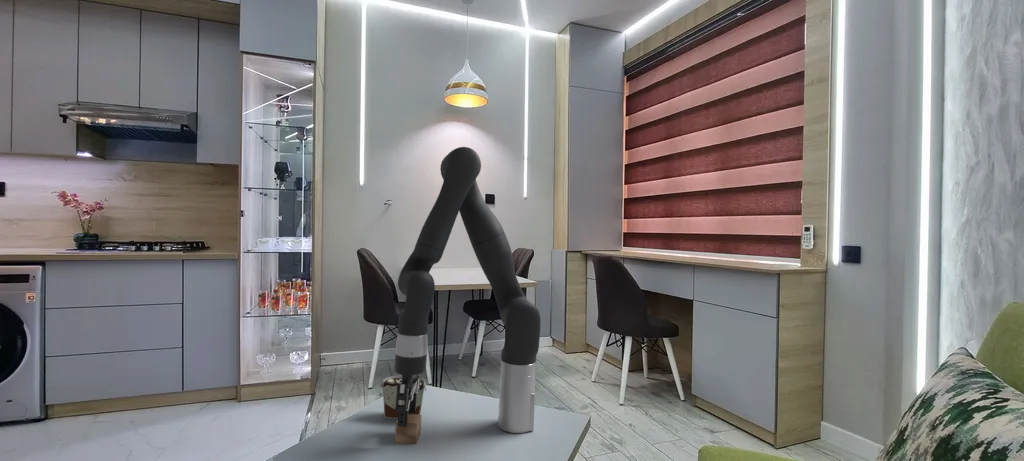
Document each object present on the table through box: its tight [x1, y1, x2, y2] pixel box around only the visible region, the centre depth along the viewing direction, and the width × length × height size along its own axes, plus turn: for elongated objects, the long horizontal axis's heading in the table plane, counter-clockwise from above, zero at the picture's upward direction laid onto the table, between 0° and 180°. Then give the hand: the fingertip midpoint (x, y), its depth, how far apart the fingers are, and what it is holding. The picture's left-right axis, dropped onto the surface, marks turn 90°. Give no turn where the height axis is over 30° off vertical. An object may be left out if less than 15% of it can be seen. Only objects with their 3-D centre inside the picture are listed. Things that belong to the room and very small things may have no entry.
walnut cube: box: [394, 414, 422, 445], centre depth 108 cm, size 5×5×5 cm
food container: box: [380, 374, 427, 420], centre depth 122 cm, size 12×6×10 cm, turn 84°
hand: (406, 418), depth 109 cm, fingers open, 8 cm apart
